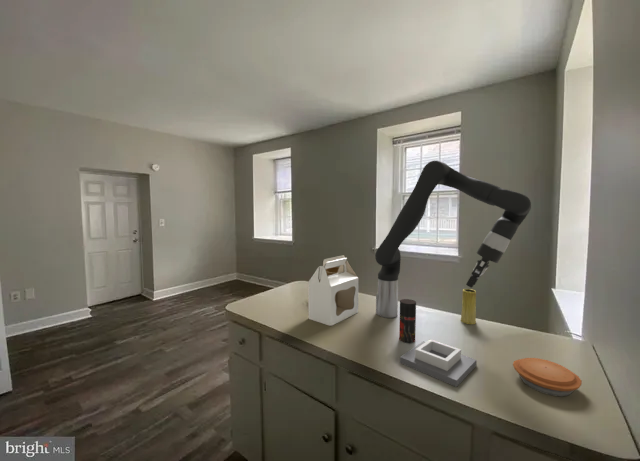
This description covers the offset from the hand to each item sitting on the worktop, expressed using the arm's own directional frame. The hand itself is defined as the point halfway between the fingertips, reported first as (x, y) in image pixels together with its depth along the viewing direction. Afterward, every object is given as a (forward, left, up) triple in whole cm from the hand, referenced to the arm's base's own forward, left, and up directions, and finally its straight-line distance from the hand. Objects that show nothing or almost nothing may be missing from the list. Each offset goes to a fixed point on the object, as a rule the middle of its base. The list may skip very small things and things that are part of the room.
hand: (470, 285), depth 107 cm
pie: (+25, -11, -22) cm, 35 cm away
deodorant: (-17, -14, -22) cm, 31 cm away
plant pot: (-72, +6, -22) cm, 76 cm away
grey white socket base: (-1, -23, -22) cm, 32 cm away
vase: (-7, +21, -22) cm, 31 cm away
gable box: (-54, -16, -22) cm, 61 cm away
